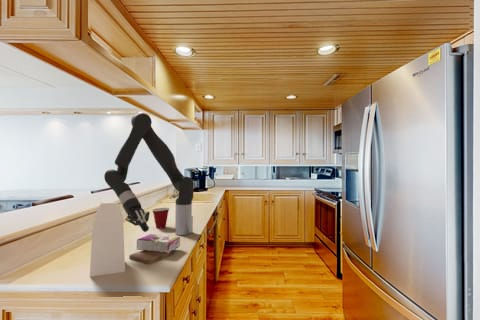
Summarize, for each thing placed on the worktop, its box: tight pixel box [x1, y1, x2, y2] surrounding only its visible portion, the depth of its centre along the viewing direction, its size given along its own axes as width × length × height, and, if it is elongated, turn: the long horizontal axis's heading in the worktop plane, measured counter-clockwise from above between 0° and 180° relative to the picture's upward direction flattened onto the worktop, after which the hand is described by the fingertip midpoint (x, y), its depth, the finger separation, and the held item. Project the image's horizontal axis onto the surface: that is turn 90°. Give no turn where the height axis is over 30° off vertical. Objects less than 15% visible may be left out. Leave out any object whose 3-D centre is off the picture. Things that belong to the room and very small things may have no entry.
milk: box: [89, 201, 126, 278], centre depth 108 cm, size 12×12×26 cm
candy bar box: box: [136, 233, 181, 253], centre depth 128 cm, size 11×5×16 cm
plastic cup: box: [151, 207, 170, 229], centre depth 174 cm, size 11×11×12 cm
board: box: [128, 250, 174, 265], centre depth 122 cm, size 14×12×2 cm
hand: (146, 230), depth 128 cm, fingers closed
